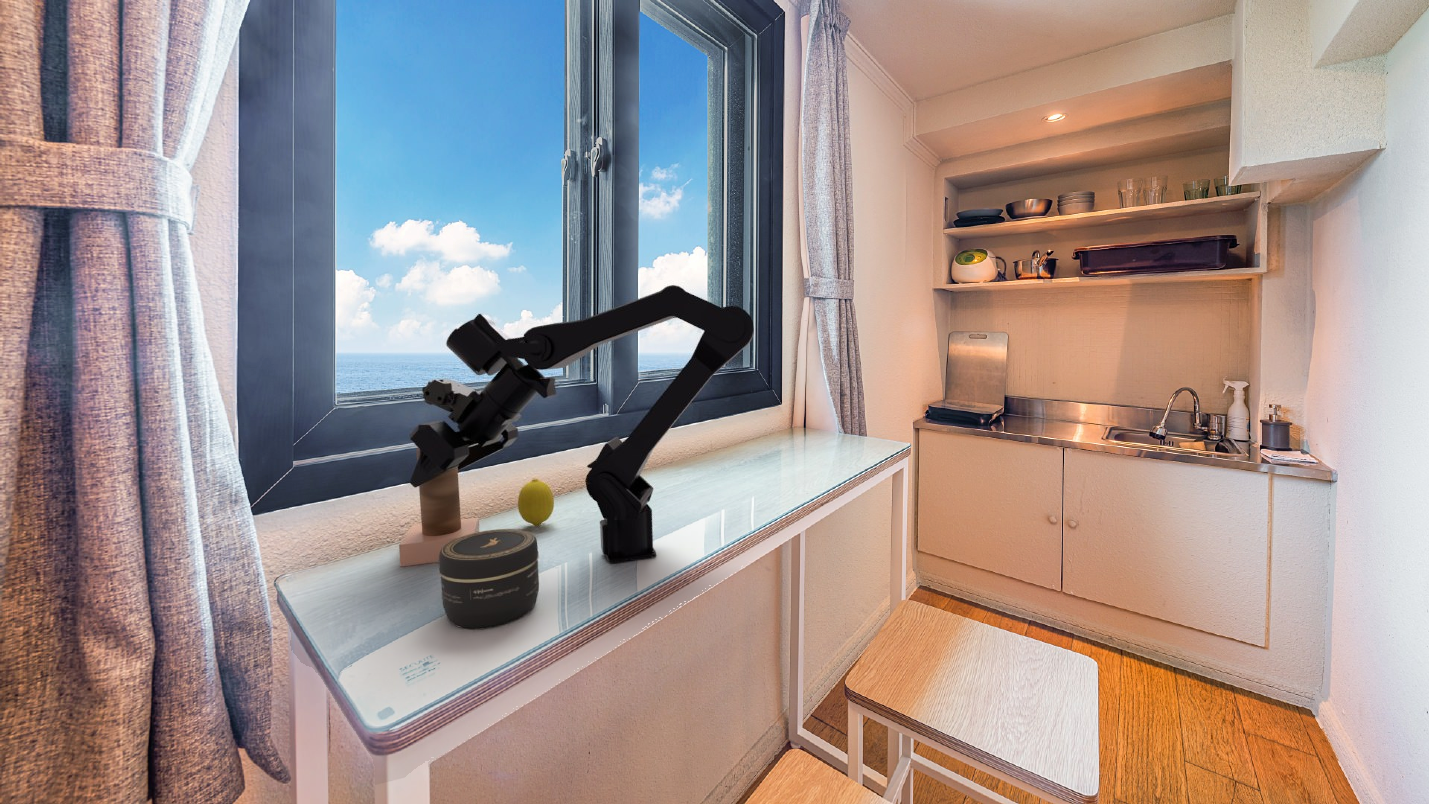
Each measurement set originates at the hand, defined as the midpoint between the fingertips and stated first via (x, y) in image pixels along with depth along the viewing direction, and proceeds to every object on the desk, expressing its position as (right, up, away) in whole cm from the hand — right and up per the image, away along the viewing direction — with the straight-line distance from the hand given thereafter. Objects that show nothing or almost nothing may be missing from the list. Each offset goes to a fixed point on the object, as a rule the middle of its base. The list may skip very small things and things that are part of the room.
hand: (433, 476), depth 75 cm
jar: (+16, -12, -17) cm, 26 cm away
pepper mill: (+1, -8, +1) cm, 8 cm away
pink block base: (+1, -11, +1) cm, 11 cm away
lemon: (+11, -10, +11) cm, 18 cm away
